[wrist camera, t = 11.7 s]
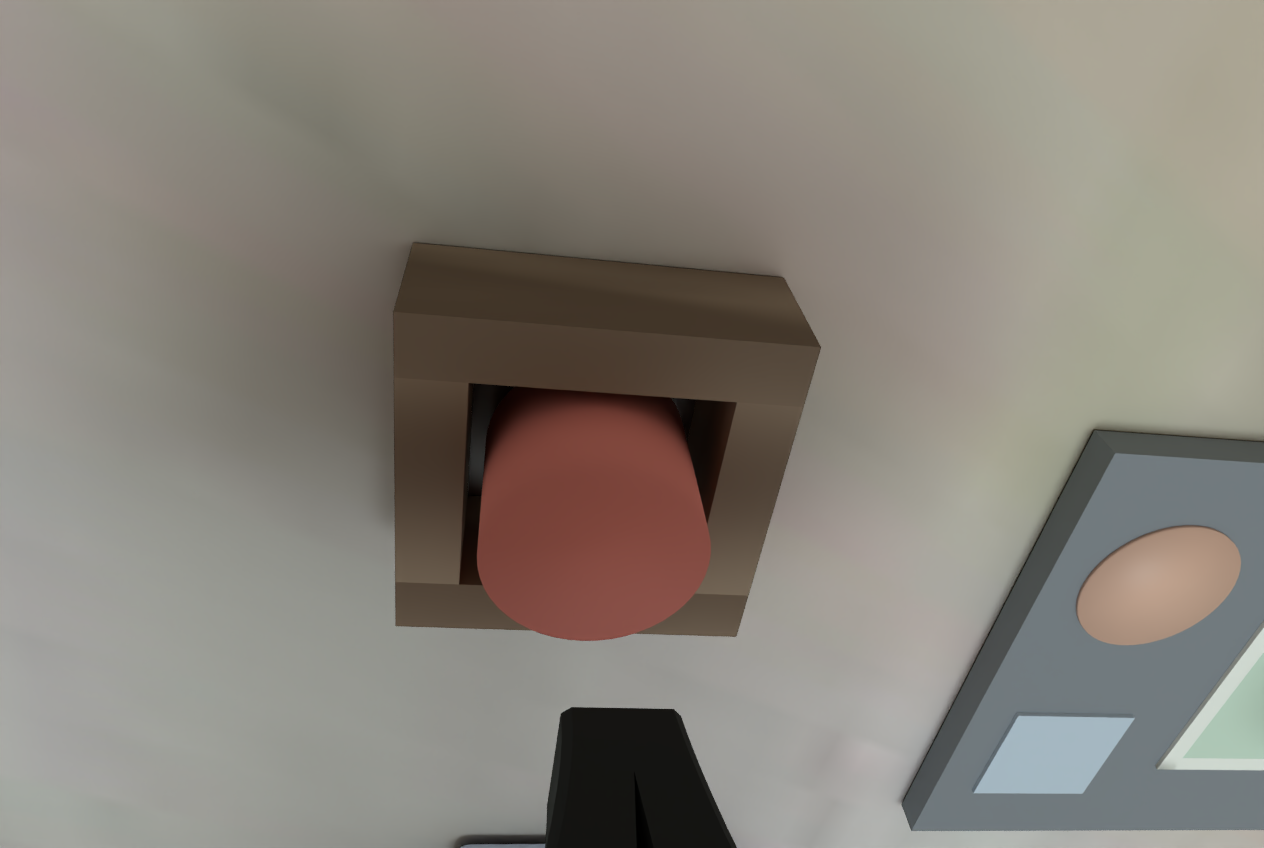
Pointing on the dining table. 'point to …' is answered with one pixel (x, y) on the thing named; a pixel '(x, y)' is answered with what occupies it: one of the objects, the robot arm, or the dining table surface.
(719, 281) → the button box
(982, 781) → the picture board
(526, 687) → the dining table surface
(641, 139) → the dining table surface
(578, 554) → the button
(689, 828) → the robot arm
